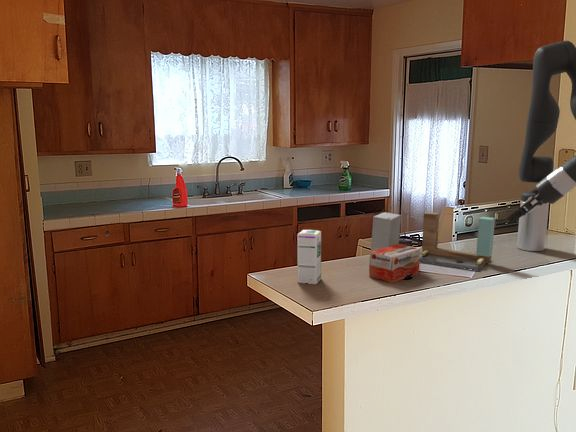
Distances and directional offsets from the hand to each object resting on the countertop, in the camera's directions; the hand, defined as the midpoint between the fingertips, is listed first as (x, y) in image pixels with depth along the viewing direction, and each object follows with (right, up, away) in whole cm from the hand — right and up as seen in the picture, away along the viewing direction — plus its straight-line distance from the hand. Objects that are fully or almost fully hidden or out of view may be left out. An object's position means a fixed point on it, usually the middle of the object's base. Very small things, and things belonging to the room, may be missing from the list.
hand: (512, 218), depth 168 cm
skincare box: (-38, -15, +7) cm, 42 cm away
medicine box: (-38, -17, -6) cm, 42 cm away
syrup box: (-64, -18, -13) cm, 67 cm away
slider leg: (-8, -14, +5) cm, 16 cm away
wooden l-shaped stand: (-15, -13, +10) cm, 22 cm away
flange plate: (-16, -14, +11) cm, 24 cm away
